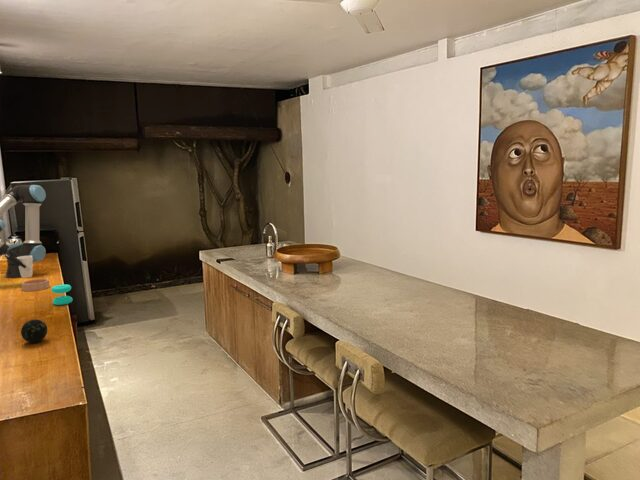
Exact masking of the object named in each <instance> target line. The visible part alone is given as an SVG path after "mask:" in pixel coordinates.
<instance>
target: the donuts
mask: <svg viewBox="0 0 640 480" xmlns="http://www.w3.org/2000/svg"><path fill="white" fill-rule="evenodd" d="M71 290H72V286H71V285H70V284H57V285H54V286H52V287H51V290H50V291H51V292H52V293H54V294H65V293H68V292H70V291H71ZM73 300H74V299H73V297H72V296H70V295H61V296H56V297H55V298H54V299H52V303H53V305H56V306H65V305H69V304H72V303H73Z"/></svg>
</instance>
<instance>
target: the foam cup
mask: <svg viewBox="0 0 640 480" xmlns="http://www.w3.org/2000/svg"><path fill="white" fill-rule="evenodd" d="M17 259H18V260H20V261H21V262H22V263H25V264H26V265H28V266H29V267H31V268H32V269H31V270H30V271H29V272H28V271H27V270H25V269H24V268H22V267H21V266H19V267H18V268H19V271H20V274H21V277H20V278H24V279H25V278H31V277H33V267H34V266H33V265H34V264H33V263H34V262H33V257H32V256H20V257H17Z"/></svg>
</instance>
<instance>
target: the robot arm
mask: <svg viewBox="0 0 640 480" xmlns="http://www.w3.org/2000/svg"><path fill="white" fill-rule="evenodd" d="M46 197H47V194H46V191H45V189H44V188H43V187H42V186H41V185H38V184H21V185H16V186H14V187H12V188H11V189H9V190H8V191H6V192H5V193H4V194H3V195H2V198H1V199H0V218H1V217H2V216H3V215H4V214H5V213H6V212H7V211H8V210H10V208H12V206H16V205H17V204H18V203H22V205H24V206H25V208H24V209H25V214H24V215H25V217H24V218H25V221H24V222H25V225H24V226H25V228H24V229H25V230H24V231H25V232H24V233H25V236H24V237H25V238H24V239H25V240H24V241H23V242H18V243H14V244H7V243H4V242H3V241H2V240H0V256H2V255H4V257H5V258H6V263H7V268H6V270H5V271H6V272H5V278H6V279H7V278H8V279H15V278H16V279H17V278H22V277H21V274H20V271H19V268H18V267H19V266H21V267H22V268H24V269H25V270H27V271H28V272H29V271H30V270H31V269H32V268H31V267H29V266H28V265H26V264H25V263H22V262H21V261H20V260H18V259H17V257H20V256H32V257H33V263H38V262H41V261H43V259H44V258H45V257H46V251H47V250H46V248H45V246H43V243H42V241H40V207H41V205H43V201H45V199H46ZM5 228H6V223H5V222H4V221H3V220H2V219H0V233H1V232H2V231H3V230H4V229H5ZM34 266H35V265H34V264H33V267H34Z"/></svg>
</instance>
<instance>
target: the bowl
mask: <svg viewBox="0 0 640 480" xmlns="http://www.w3.org/2000/svg"><path fill="white" fill-rule="evenodd" d="M49 288H50V278H49V279H48V278H36V279H35V278H33V279H30V280H29V279H28V280H25V281H22V282H21V290H22V292H38V291H42V290H43V291H44V290H46V289H49Z"/></svg>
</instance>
